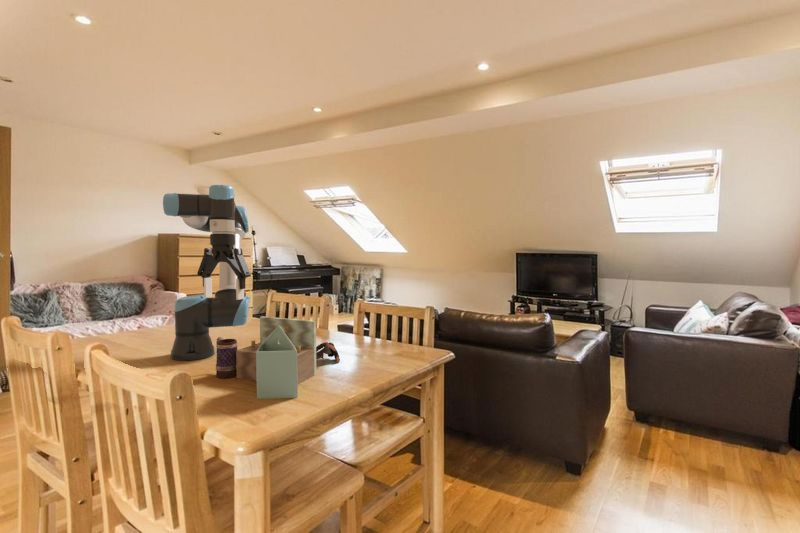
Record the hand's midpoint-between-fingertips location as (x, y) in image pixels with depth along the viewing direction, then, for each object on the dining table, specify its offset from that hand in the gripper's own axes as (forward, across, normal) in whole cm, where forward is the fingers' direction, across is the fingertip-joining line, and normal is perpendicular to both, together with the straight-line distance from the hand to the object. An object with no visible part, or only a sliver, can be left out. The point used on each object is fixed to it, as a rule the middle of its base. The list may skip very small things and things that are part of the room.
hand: (224, 298), depth 137 cm
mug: (+26, 0, +1) cm, 26 cm away
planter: (+26, +25, -9) cm, 37 cm away
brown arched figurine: (+26, +23, +26) cm, 43 cm away
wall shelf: (+26, +16, +6) cm, 31 cm away
